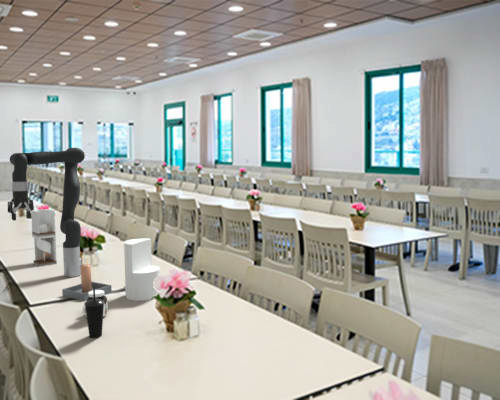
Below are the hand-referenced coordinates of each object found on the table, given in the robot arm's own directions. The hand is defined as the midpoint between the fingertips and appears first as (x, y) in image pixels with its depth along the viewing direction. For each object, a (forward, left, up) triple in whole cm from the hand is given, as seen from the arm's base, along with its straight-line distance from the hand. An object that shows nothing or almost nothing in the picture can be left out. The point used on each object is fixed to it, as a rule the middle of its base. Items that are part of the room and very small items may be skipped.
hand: (21, 219), depth 272 cm
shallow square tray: (-4, +45, -36) cm, 58 cm away
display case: (-38, -32, -36) cm, 62 cm away
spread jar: (+19, +75, -36) cm, 86 cm away
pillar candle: (-4, +45, -35) cm, 57 cm away
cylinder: (-16, +72, -36) cm, 82 cm away
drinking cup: (+35, +93, -36) cm, 106 cm away
